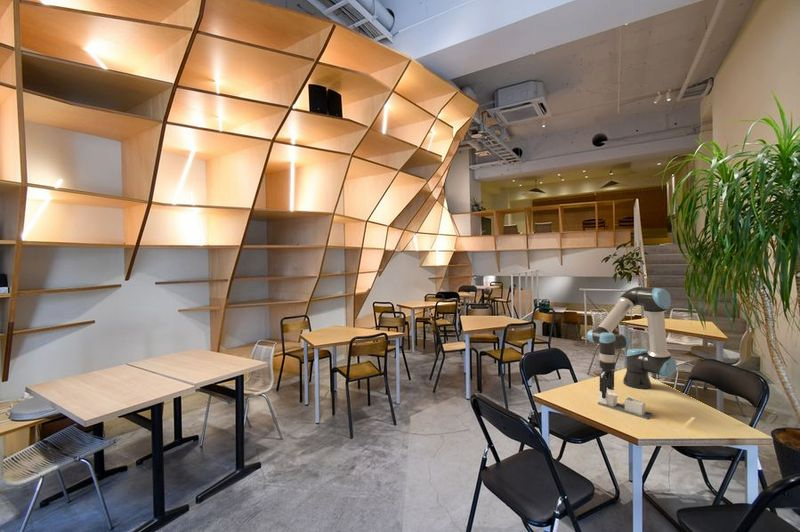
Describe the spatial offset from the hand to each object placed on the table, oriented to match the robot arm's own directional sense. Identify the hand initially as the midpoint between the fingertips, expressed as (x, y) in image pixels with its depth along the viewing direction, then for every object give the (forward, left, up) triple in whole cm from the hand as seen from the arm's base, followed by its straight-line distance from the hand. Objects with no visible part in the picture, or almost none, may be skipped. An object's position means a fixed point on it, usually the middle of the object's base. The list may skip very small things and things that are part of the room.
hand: (606, 402), depth 205 cm
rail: (0, +9, -2) cm, 9 cm away
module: (0, 0, 0) cm, 0 cm away
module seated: (0, +14, -1) cm, 14 cm away
